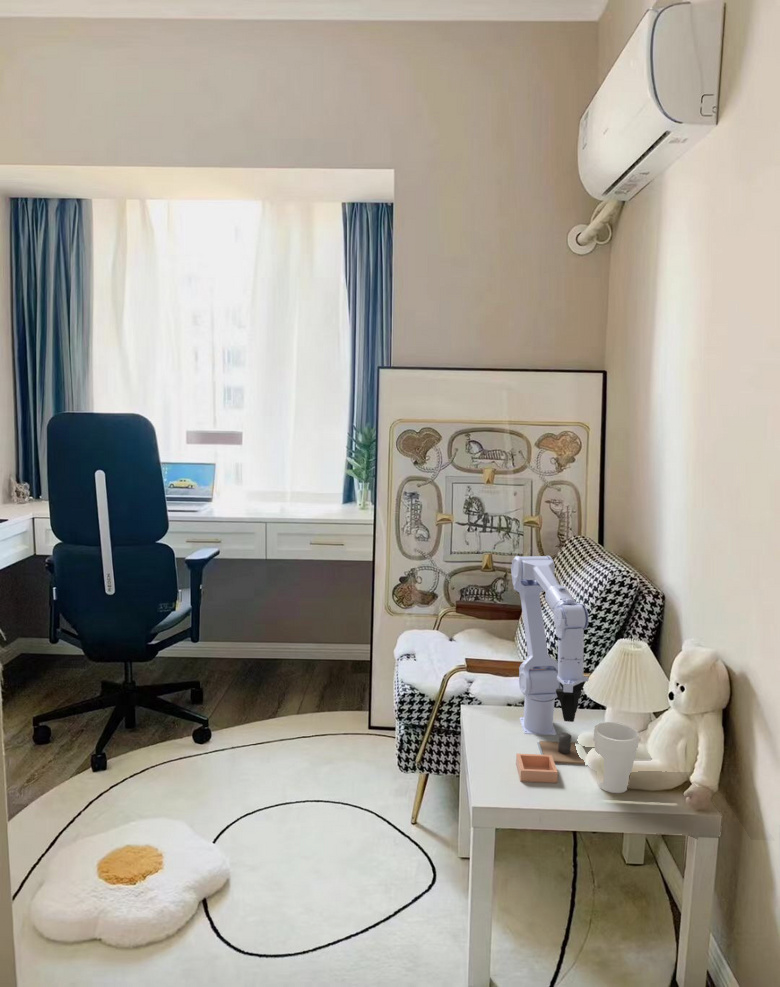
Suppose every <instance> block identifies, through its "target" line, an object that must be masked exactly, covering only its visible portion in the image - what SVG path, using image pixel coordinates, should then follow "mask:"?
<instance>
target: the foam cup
mask: <svg viewBox="0 0 780 987" xmlns="http://www.w3.org/2000/svg"><path fill="white" fill-rule="evenodd" d="M593 732H594V733H593V741H594V752H595V751H596V752H597V753H598V754H600V755H601V756H602V757H603V758H604V768H605V769H604V770H605V773H604V779H603V780H604V781H603V783H599V784H598V783H597V782H596V785H597V786H598V787H599V789H601V790H603V791H605V792H608V793H610V794H611V793H612V794H621V793H625V792H626V791H628V789H627V783H628V779H629V775H630V773H631V774H632V771H633V767H634V761H635V757H636V754H637V749H638V747H639V741H640V740H639V739H640V733H639V731H637V729H636V728H634V727H632V726H630V725H628V724H624V723H619V722H613V721H612V722H611V721H606V722H605V721H604V722H599V723H598V724H596V725H594V729H593Z"/></svg>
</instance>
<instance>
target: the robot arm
mask: <svg viewBox="0 0 780 987" xmlns="http://www.w3.org/2000/svg"><path fill="white" fill-rule="evenodd" d="M510 573H511V581H512V586H513V590H514V591H516V592H517V593H518V594H519V598H520V602H521V603H520V604H521V611H522V619H523V625H524V634H525V641H526V648H527V656H528V657H527V658H526V659H525V660H524V661H523V662H522V663H521V664H520V666H519V668H518V670H519V671H518V673H519V675H518V684H519V689H520V692H521V693H522V694H523V696H524V704H523V705H524V706H523V717H522V716H521V717H519V722H520V725H521V728H522V731H523V734H524V735H542V736H545V735H546V736H556V735H557V732H556V729H555V727H554V715H555V699H557V698H558V700H559V704H560V706H561V712H562V719H563V722H568V723H569V722H570V723H574V722H575V718H576V713H577V711H578V710H577V709H578V705H579V700H580V698H581V696H582V693H583V692H582V689H583V687H584V685H585V682H589V678H590V677H589V676H584V653H585V652H584V649H585V648H584V645H585V644H584V639H585V638H584V635H585V634H584V633H585V632H584V631H585V630H586V629H587V628H588V626H589V621H590V620H589V619H590V618H589V612H588V609H587V607H586V605H585V604H584V603H580V602H576V600H575V599H574V598H573V596H572V594H571V593H570V591H569V590H568V588H566V586H564V585H561V584H559V582H558V580H557V578H556V576H555V562H554V559H553V558H552V556H550V555H542V556H540V555H539V556H535V555H532V556H519V555H515V557H514V558H513V559H512V560H511V567H510ZM543 592H545V596H544V598H545V599H544V600H545V602H546V603H547V605H548V607H549V608H550V610H551V611H552V613H553V622H554V626H555V635H556V637H557V661H556V660H555V659H554V658H552V657H551V656H550V655H549V653H548V652H549V651H548V647H547V640H546V639H547V638H546V630H545V626H544V625H545V624H544V618H543V612H542V610H543V609H542V603H541V597H540V595H541V593H543Z"/></svg>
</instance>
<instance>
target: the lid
mask: <svg viewBox="0 0 780 987" xmlns="http://www.w3.org/2000/svg"><path fill="white" fill-rule="evenodd" d="M538 742H539V744H540V747H541V750H542V753H543V755H552V757H553V760H554V763H556V764H578V765H585V762H584V760H583V759H581V758H580V757H579V755H578V753H577V750H576V746H575V743H576V742H572V735H571V733H568V732H560V733H559V735H558V741H552V740H551V741H549V740H547V741H546V740H539V741H538Z"/></svg>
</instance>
